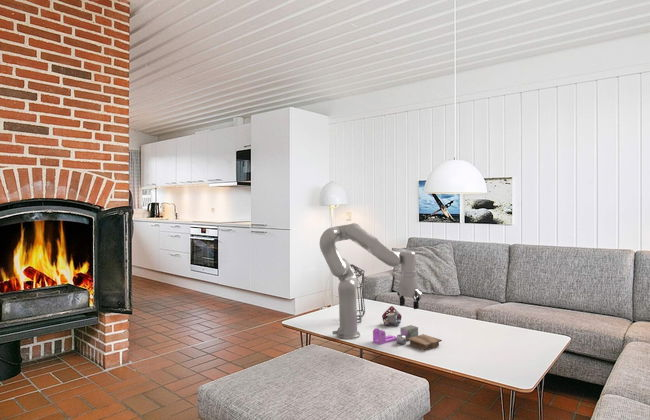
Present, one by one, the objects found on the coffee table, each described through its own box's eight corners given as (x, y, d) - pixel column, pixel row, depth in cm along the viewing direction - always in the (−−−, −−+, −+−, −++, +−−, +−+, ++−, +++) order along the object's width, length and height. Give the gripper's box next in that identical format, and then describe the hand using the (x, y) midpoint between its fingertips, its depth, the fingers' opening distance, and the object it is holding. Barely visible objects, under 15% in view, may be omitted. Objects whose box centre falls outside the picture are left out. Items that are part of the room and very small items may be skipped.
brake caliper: (401, 317, 253) (401, 304, 246) (402, 333, 245) (402, 320, 238) (382, 317, 255) (381, 304, 248) (382, 332, 246) (382, 320, 239)
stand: (425, 351, 202) (425, 344, 202) (407, 344, 212) (407, 338, 212) (441, 345, 209) (441, 339, 209) (423, 339, 219) (423, 334, 219)
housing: (407, 341, 217) (407, 330, 217) (400, 339, 221) (400, 327, 221) (418, 338, 222) (418, 327, 222) (411, 336, 226) (411, 325, 226)
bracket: (380, 345, 213) (380, 331, 213) (373, 342, 217) (372, 328, 217) (399, 340, 220) (398, 326, 220) (391, 337, 225) (391, 324, 224)
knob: (401, 345, 211) (401, 337, 211) (395, 343, 214) (395, 335, 214) (407, 343, 213) (407, 336, 213) (401, 341, 217) (401, 333, 217)
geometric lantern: (366, 324, 248) (363, 266, 248) (339, 324, 251) (337, 266, 250) (367, 317, 264) (365, 262, 263) (342, 317, 266) (340, 262, 266)
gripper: (391, 273, 226) (392, 305, 227) (416, 277, 212) (416, 311, 213) (401, 272, 231) (402, 303, 231) (425, 275, 217) (426, 308, 217)
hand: (409, 307), depth 222 cm, fingers open, 9 cm apart
